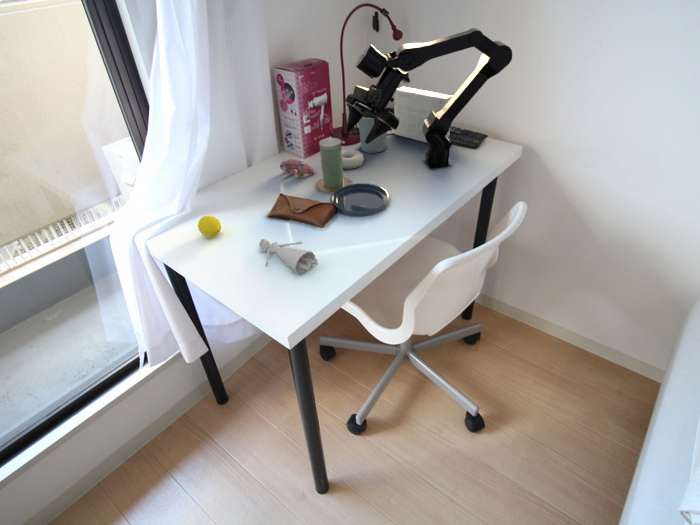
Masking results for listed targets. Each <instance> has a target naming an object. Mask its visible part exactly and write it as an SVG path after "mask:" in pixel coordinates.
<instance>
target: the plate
mask: <svg viewBox="0 0 700 525" xmlns="http://www.w3.org/2000/svg"><path fill="white" fill-rule="evenodd" d="M329 200H330V203H332V204H334V205H336V206H337V209H338V212H337V214H341V215H342V216H346V217H347V216H348V217H355V218H356V217H368V216H372V215H373V216H374V215H375V214H379V213H380V212H382V211H383V210H385V209H386V208H387V207H388V205H389V201H390V195H389V192H388V190H387V189H385V188H384V187H382V186H380V185H377V184H374V183H368V182H358V183H350V184H349V185H346V186H343V187H341V188H339V189H337V190H335V191H334V192H331V195H330V198H329Z"/></svg>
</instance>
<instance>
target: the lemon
mask: <svg viewBox="0 0 700 525" xmlns="http://www.w3.org/2000/svg"><path fill="white" fill-rule="evenodd" d="M197 227H198V230H199V232H200V233H201V234H202V235H203V236H205V237H207V238H215V237H216V236H218V235H219V234H220V233H221V231H222V223H221V222H220V219H218V218H217V217H216V216H213V215H204V216H202V217H201V218H200V219H199V220H198V222H197Z"/></svg>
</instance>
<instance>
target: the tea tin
mask: <svg viewBox="0 0 700 525" xmlns="http://www.w3.org/2000/svg"><path fill="white" fill-rule="evenodd" d="M318 145H319V152H320V160H321V170H322V179H323V181H324V186H325V187H327V188H339V187H341V186H343V184H344V178H345V177H344V169H343V164H342V151H343V150H342V140H341V139H340V138H337V137H325V138H322V139H320V140H319V142H318ZM343 177H344V178H343Z"/></svg>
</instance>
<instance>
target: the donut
mask: <svg viewBox="0 0 700 525" xmlns="http://www.w3.org/2000/svg"><path fill="white" fill-rule="evenodd" d="M341 151H342V164H343V170H351V169H355V168H358V167H360V166H361V165H363V163H364V158H365V157H364V154H363V153H362V152H361V151H359V150H356V149H343V150H341Z"/></svg>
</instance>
